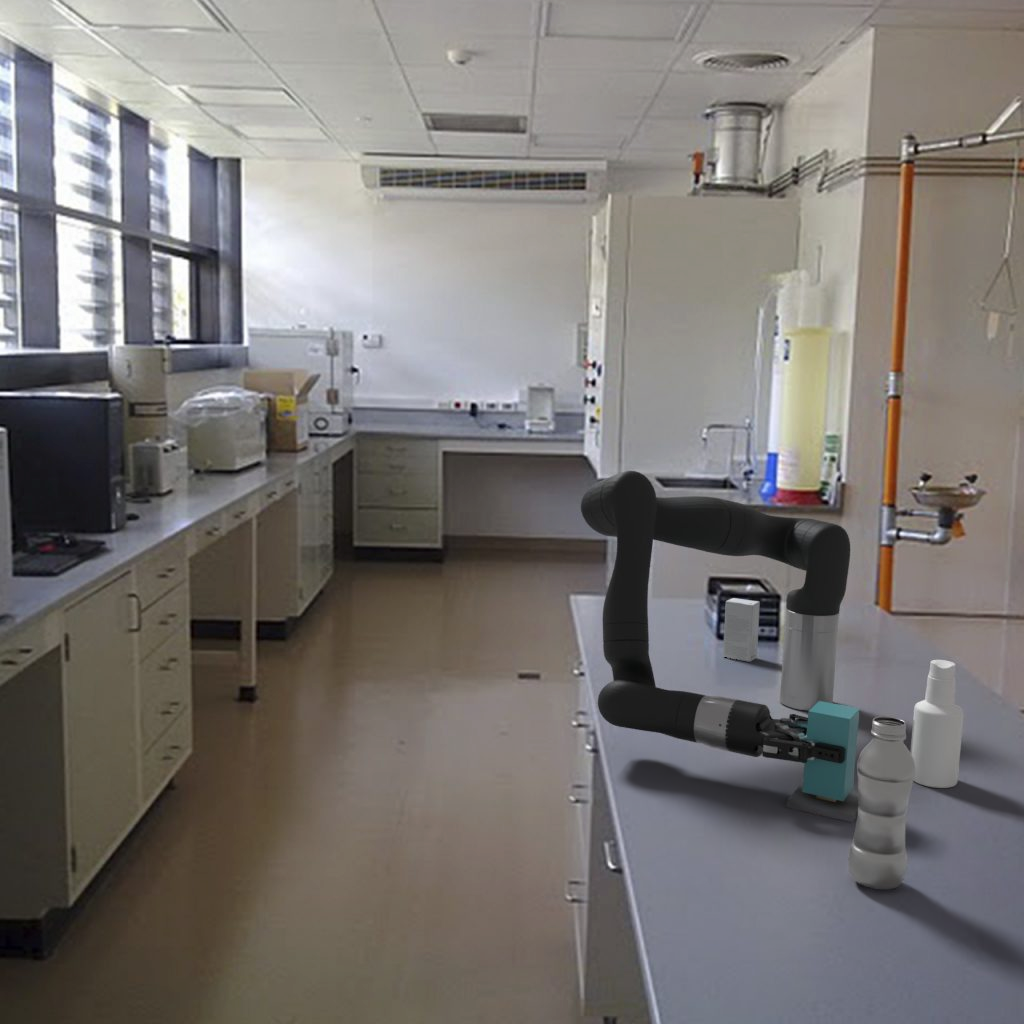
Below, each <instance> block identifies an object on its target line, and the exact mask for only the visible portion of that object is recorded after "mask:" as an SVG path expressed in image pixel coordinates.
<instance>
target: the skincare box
mask: <svg viewBox="0 0 1024 1024" xmlns="http://www.w3.org/2000/svg"><path fill="white" fill-rule="evenodd" d="M760 604H761V603H760V601H758V600H751V599H750V600H749V599H743V598H736V597H732V598H730V599H728V600H726V601H725V609H724V627H723V628H724V632H723V648H722V649H723V650H722V657H723V658H724V657H727V658H726V659H730V658H731V660H736V659H737V660H738V661H743V662H747V663H749V662H752V661H754V660H756V659H757V657H758V646H759V645H758V642H759V624H760V623H759V622H760V606H761V605H760Z"/></svg>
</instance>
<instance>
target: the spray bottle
mask: <svg viewBox="0 0 1024 1024" xmlns="http://www.w3.org/2000/svg"><path fill="white" fill-rule="evenodd" d="M955 674H956V663H955V662H953V661H949V660H946V659H945V660H944V659H933V660H930V667H929V672H928V675H927V679H926V680H927V681H926V682H927V683H926V689H925V694H924V695H925V697H924V699H922V700H920V701H918V702H917V703H915V704H914V708H913V719H912V729H911V742H910V751H909V752H910V753H911V755H912V757H913V759H914V762H915V766H916V771H915V777H914V780H913V783H914V782H915V783H916V784H918V785H922V786H924V787H928V788H933V789H935V788H936V789H948V788H953V787H955V786H957V784H958V780H959V768H960V760H961V759H960V758H961V748H962V738H963V737H962V736H963V725H964V710H963V709H962V708H961V707H960V706H959V705H957V704H956V701H955V700H956V683H957V682H956V681H957V679H956V675H955Z"/></svg>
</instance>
